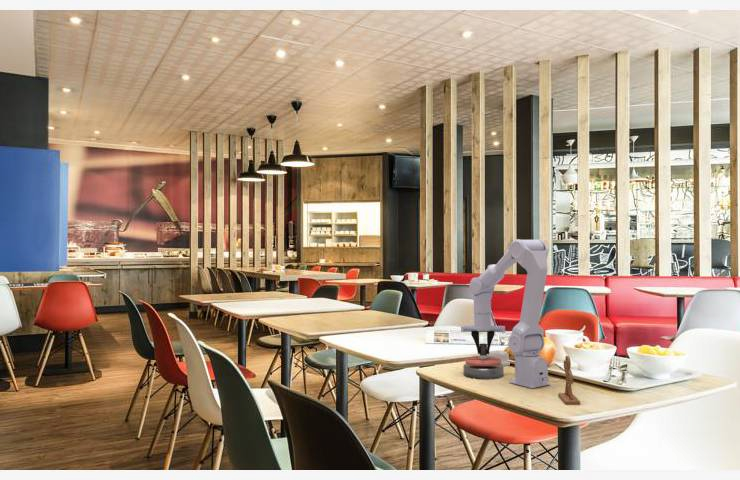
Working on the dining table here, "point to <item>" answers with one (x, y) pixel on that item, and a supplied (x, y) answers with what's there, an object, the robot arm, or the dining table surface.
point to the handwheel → (483, 358)
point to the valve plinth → (483, 371)
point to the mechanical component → (500, 356)
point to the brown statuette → (568, 396)
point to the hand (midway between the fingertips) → (483, 353)
